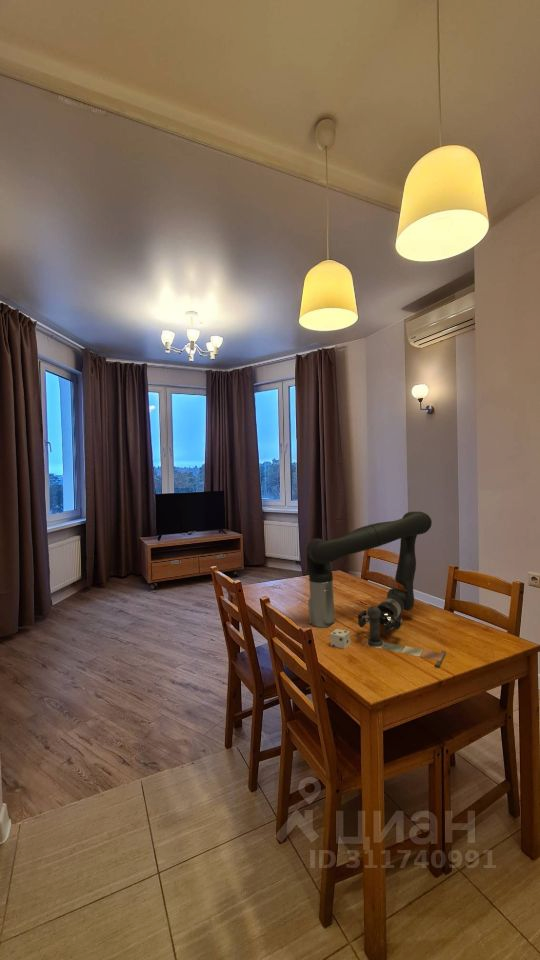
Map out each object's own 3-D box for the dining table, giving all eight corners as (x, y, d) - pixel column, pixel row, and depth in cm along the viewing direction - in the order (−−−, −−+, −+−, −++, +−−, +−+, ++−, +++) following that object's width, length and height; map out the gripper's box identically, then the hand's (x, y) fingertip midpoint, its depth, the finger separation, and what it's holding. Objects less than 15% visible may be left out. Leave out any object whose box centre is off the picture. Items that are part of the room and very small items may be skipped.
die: (330, 648, 130) (329, 633, 130) (336, 643, 134) (336, 628, 134) (344, 652, 127) (344, 636, 127) (350, 646, 131) (350, 631, 131)
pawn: (366, 644, 130) (364, 607, 130) (370, 639, 134) (369, 603, 134) (380, 647, 127) (378, 609, 127) (384, 642, 131) (383, 605, 131)
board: (361, 650, 127) (360, 648, 127) (372, 638, 136) (372, 636, 136) (439, 667, 114) (439, 664, 114) (446, 653, 123) (446, 650, 123)
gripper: (368, 598, 146) (352, 612, 133) (407, 604, 138) (393, 618, 125) (369, 618, 146) (353, 633, 133) (408, 625, 138) (395, 642, 125)
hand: (372, 626), depth 129 cm, fingers open, 8 cm apart
